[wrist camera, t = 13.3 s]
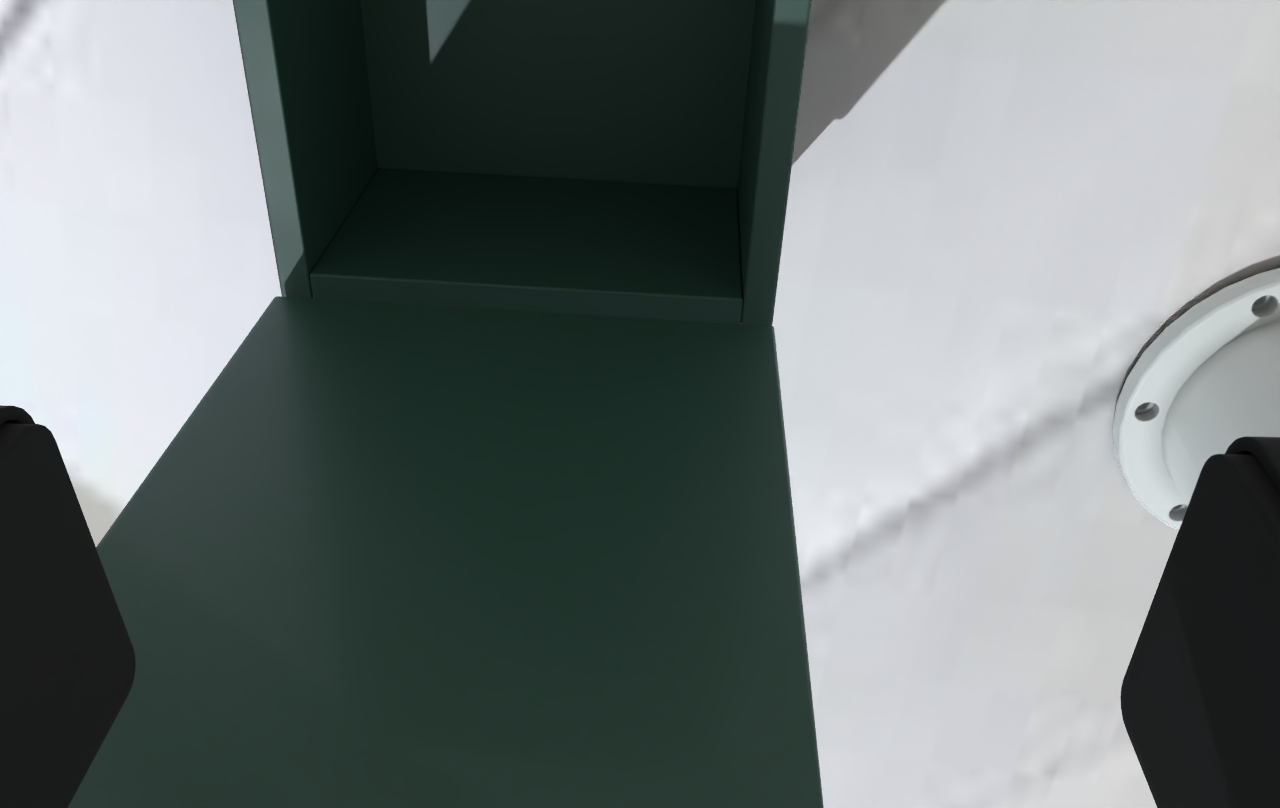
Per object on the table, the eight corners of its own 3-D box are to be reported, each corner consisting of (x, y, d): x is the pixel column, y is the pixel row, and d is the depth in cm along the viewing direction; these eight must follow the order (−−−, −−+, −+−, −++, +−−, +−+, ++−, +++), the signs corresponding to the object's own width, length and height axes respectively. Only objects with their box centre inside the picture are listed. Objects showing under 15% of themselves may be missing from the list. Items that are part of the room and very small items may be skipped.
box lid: (-254, 1031, 14) (-113, 1211, 17) (857, 1113, 14) (805, 1284, 17) (274, 295, 31) (299, 448, 34) (774, 324, 31) (755, 476, 34)
